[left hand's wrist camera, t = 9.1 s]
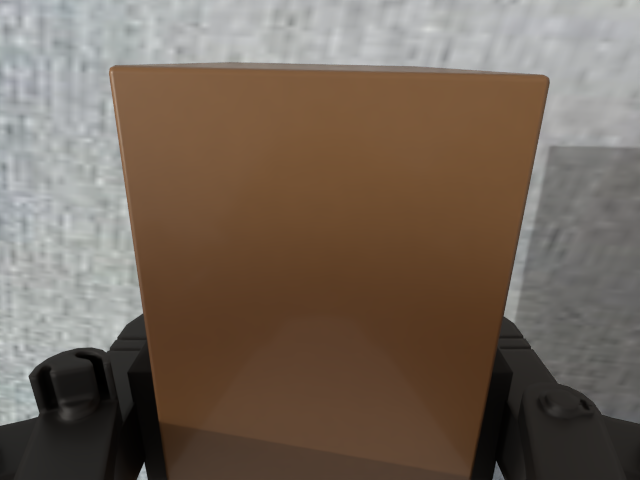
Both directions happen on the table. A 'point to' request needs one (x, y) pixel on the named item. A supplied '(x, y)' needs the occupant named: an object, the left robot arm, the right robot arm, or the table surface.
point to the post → (324, 260)
